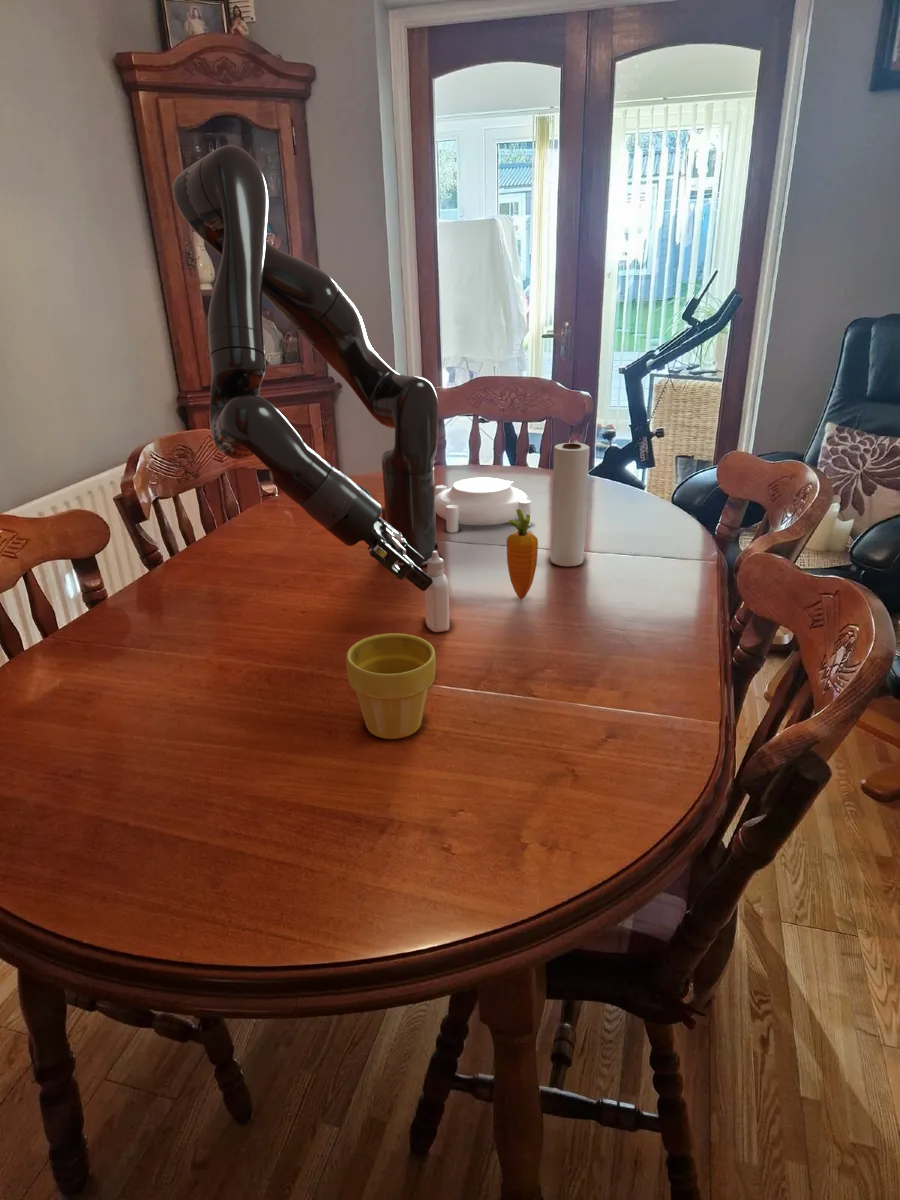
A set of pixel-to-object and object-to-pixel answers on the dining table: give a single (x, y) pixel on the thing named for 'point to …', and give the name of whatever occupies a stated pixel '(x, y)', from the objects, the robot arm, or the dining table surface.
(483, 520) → the round stand with pegs
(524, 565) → the carrot
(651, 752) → the dining table surface
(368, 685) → the flower pot
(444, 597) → the eye dropper bottle
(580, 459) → the paper towel roll
